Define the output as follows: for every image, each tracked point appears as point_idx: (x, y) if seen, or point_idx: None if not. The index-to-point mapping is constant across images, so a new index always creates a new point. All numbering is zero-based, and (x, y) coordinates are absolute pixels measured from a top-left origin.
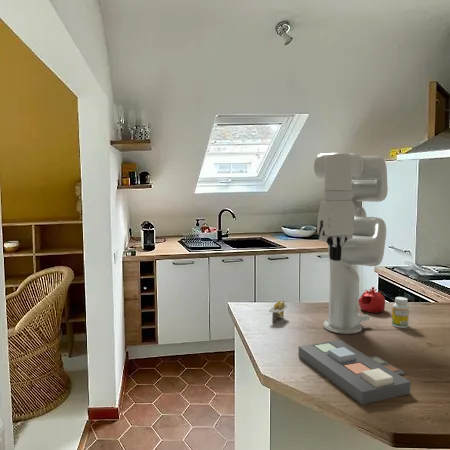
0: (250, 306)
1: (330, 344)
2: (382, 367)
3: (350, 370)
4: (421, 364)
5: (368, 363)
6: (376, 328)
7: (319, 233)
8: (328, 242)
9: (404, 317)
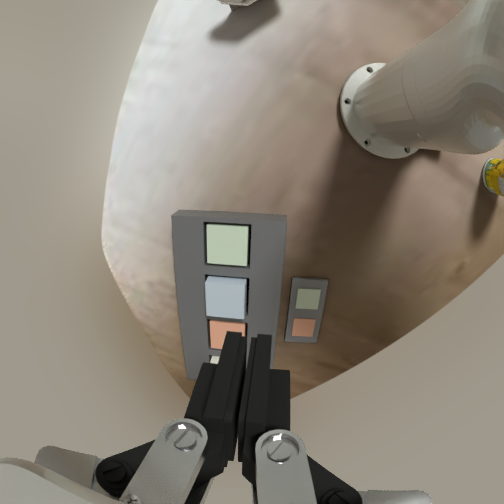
0: None
1: (246, 235)
2: None
3: (210, 335)
4: (372, 326)
5: (256, 332)
6: (449, 158)
7: (19, 468)
8: (140, 464)
9: (502, 195)
